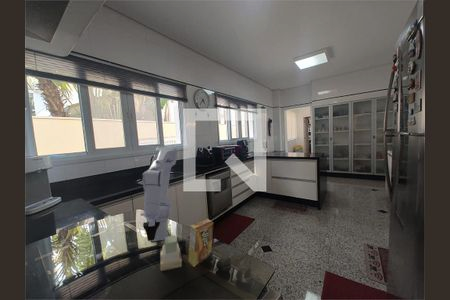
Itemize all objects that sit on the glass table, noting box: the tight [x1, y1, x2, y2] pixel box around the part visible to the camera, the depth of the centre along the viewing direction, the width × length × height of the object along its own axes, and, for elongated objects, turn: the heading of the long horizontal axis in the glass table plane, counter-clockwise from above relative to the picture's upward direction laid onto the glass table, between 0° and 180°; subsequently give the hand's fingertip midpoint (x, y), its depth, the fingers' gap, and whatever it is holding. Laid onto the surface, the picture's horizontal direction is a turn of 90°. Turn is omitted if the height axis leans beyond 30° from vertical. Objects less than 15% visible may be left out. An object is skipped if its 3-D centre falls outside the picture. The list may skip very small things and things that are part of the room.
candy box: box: [188, 218, 214, 268], centre depth 69 cm, size 9×4×15 cm, turn 137°
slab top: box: [161, 242, 181, 263], centre depth 67 cm, size 6×6×3 cm
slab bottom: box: [159, 247, 183, 272], centre depth 67 cm, size 8×8×3 cm
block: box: [163, 235, 178, 254], centre depth 66 cm, size 4×4×4 cm
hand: (151, 234), depth 67 cm, fingers open, 7 cm apart
